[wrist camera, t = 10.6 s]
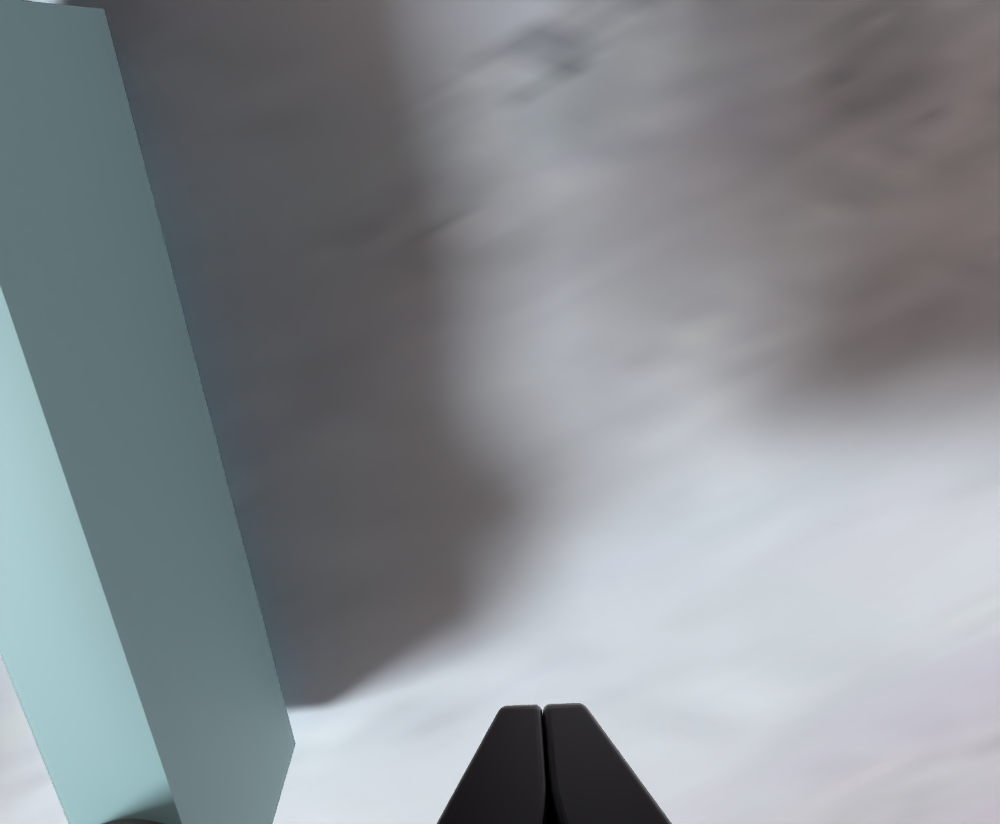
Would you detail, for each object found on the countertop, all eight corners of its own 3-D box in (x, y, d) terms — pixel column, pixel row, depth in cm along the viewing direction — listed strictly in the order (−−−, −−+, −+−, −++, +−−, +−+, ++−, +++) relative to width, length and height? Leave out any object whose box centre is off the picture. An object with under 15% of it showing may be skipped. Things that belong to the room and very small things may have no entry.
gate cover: (-19, 25, 10) (-416, 6, 6) (121, 7, 10) (-170, -27, 5) (206, 751, 14) (76, 1068, 9) (308, 742, 14) (222, 1057, 9)
